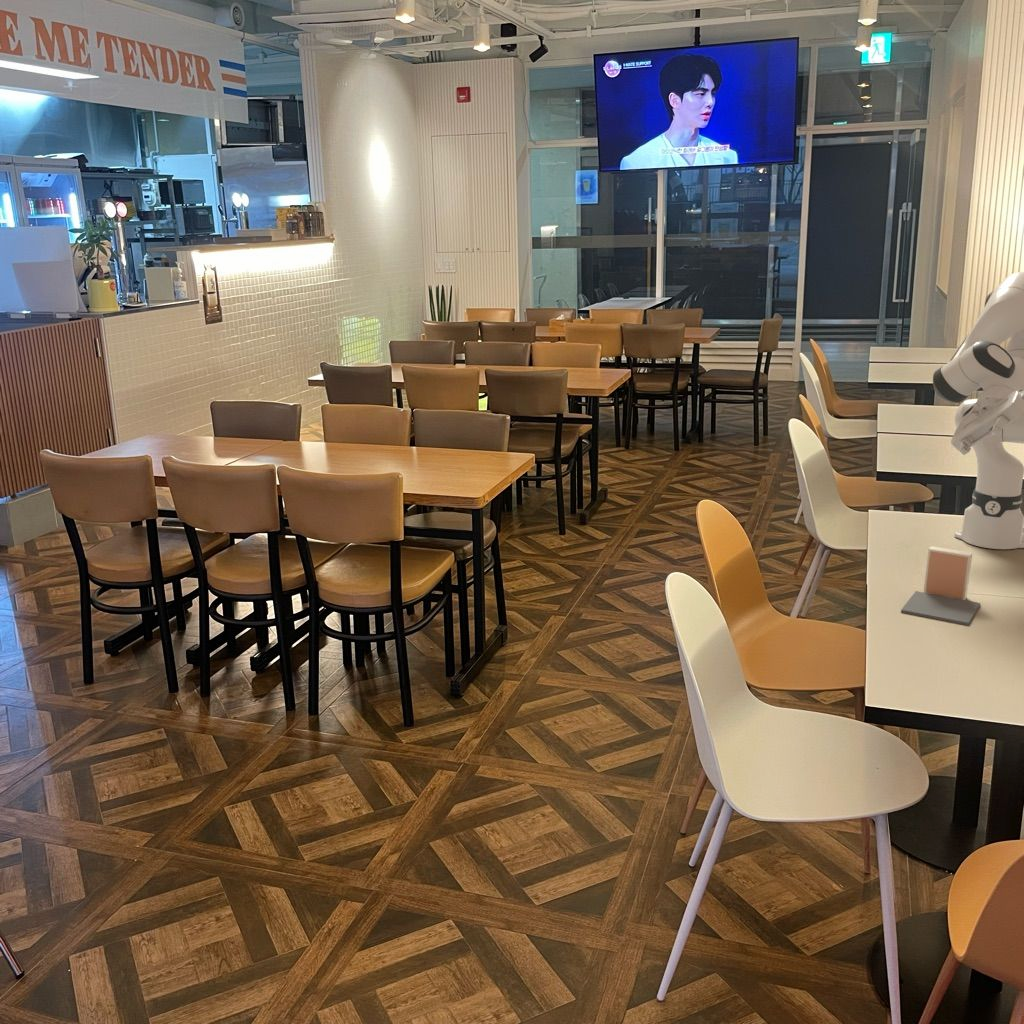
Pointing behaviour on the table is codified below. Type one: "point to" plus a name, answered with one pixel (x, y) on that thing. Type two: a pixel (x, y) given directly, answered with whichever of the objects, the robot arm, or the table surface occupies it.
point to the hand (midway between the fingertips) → (978, 442)
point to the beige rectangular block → (947, 572)
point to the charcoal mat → (941, 607)
